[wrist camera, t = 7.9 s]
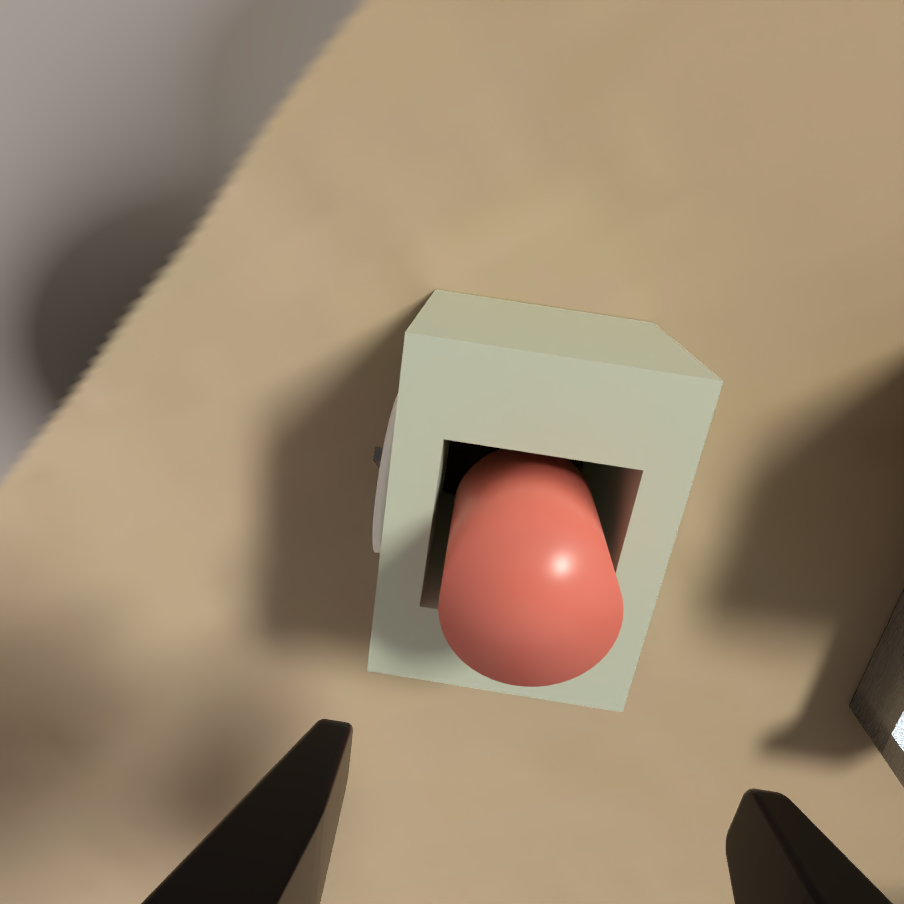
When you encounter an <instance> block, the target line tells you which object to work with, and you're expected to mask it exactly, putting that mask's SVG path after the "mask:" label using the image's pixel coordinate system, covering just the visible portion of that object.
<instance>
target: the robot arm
mask: <svg viewBox="0 0 904 904" xmlns="http://www.w3.org/2000/svg"><path fill="white" fill-rule="evenodd" d="M352 734H353V728H352V726H351V725H350V724H349V723H347V722H341V721H334V720H328V719H322V720H319V721H318V722H317V723H316V724H315V725H314V726H313V727H312V728H311V729H310V730H309V731H308V732H307V733H306V734H305V735H304V736H303V737H302V738H301V739H300V740H299V741H298V742H297V743H296V744H295V745H294V746H293V747H292V748H291V749H290V750H289V751H288V753H287V754H286V755H285V756H284V757H283V758H282V759H281V760H280V761H279V762H278V763H277V764H276V765H275V766H274V767H273V768H272V769H271V770H270V771H269V772H268V773H267V774H266V775H265V776H264V777H263V778H262V779H261V780H260V781H259V782H258V784H257V785H256V786H255V787H254V788H253V789H252V790H251V791H250V792H249V793H248V794H247V795H246V796H245V797H244V798H243V799H242V800H241V801H240V802H239V803H238V804H237V805H236V806H235V807H234V808H233V809H232V810H231V811H230V812H229V813H228V815H227V816H226V817H225V818H224V819H223V820H222V821H221V822H220V823H219V824H218V825H217V826H216V827H215V828H214V829H213V830H212V831H211V832H210V833H209V834H208V835H207V836H206V837H205V838H204V839H203V840H202V841H201V842H200V843H199V844H198V846H197V847H196V848H195V849H194V850H193V851H192V852H191V853H190V854H189V855H188V856H187V857H186V858H185V859H184V860H183V861H182V862H181V863H180V864H179V865H178V866H177V867H176V868H175V869H174V870H173V871H172V872H171V873H170V874H169V875H168V877H167V878H166V879H165V880H164V881H163V882H162V883H161V884H160V885H159V886H158V887H157V888H156V889H155V890H154V891H153V892H152V893H151V894H150V895H149V896H148V897H147V898H146V899H145V900H144V901H143V902H142V903H141V904H320V901H321V896H322V892H323V888H324V883H325V879H326V874H327V870H328V865H329V861H330V856H331V852H332V848H333V843H334V839H335V834H336V830H337V825H338V821H339V816H340V812H341V808H342V803H343V799H344V794H345V790H346V785H347V779H348V772H349V762H350V753H351V744H352ZM726 856H727V862H728V868H729V873H730V879H731V885H732V890H733V896H734V901H735V904H892V903H891V902H890V901H889V900H888V898H887V897H886V896H885V895H884V894H883V893H882V892H881V891H880V890H879V889H878V888H877V887H876V886H875V885H874V884H873V883H872V882H871V881H870V880H869V879H868V878H867V877H866V876H865V875H864V874H863V873H862V872H861V871H860V870H859V869H858V868H857V867H856V866H855V865H854V864H853V863H852V862H851V861H850V860H849V859H848V858H847V857H846V856H845V855H844V854H843V853H842V852H841V851H840V850H839V849H838V848H837V847H836V846H835V845H834V844H833V843H832V842H831V841H830V840H829V839H828V838H827V837H826V836H825V835H824V834H823V833H822V832H821V831H820V830H819V829H818V828H817V827H816V826H815V825H814V824H813V823H812V822H811V821H810V820H809V819H808V818H807V816H806V815H805V814H804V813H803V812H802V811H801V810H800V809H799V808H798V807H797V806H796V805H795V804H794V803H793V802H792V801H791V800H790V799H788V798H787V797H786V796H785V795H783V794H781V793H778V792H772V791H766V790H760V789H749V790H748V791H746V792H745V793H744V795H743V797H742V799H741V802H740V804H739V807H738V809H737V811H736V814H735V816H734V818H733V821H732V823H731V825H730V828H729V830H728V833H727V837H726Z"/></svg>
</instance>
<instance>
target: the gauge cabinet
mask: <svg viewBox="0 0 904 904" xmlns="http://www.w3.org/2000/svg"><path fill="white" fill-rule="evenodd" d="M722 384H723V380H721V379H720V378H719V377H718V376H717V375H716V374H714V373H713V372H712V371H711V370H710V369H708V368H707V367H706V366H705V365H704V364H702V363H701V362H700V361H699V360H698V359H697V358H695V357H694V356H693V355H692V354H691V353H689V352H688V351H687V350H686V349H685V348H683V347H682V346H681V345H680V344H679V343H678V342H676V341H675V340H674V339H673V338H672V337H670V336H669V335H668V334H667V333H666V332H665V331H663V330H662V329H661V328H660V327H659V326H657V325H656V324H655V323H653V322H647V321H640V320H633V319H627V318H620V317H614V316H607V315H601V314H594V313H588V312H581V311H574V310H568V309H561V308H555V307H548V306H542V305H535V304H529V303H522V302H515V301H509V300H502V299H496V298H489V297H483V296H476V295H470V294H463V293H456V292H450V291H443V290H437V289H435V291H434V292H433V294H432V295H431V296H430V298H429V299H428V301H427V302H426V303H425V305H424V306H423V308H422V309H421V311H420V312H419V313H418V315H417V316H416V318H415V319H414V320H413V322H412V323H411V325H410V326H409V327H408V329H407V330H406V332H405V337H404V346H403V355H402V364H401V373H400V382H399V391H398V394H397V396H396V399H395V402H394V405H393V408H392V411H391V415H390V419H389V423H388V427H387V432H386V436H385V441H384V446H383V448H380V447H376V448H375V454H374V459H373V460H374V462H375V463H376V464H377V465H378V466H379V467H380V468H379V475H378V481H377V488H376V496H375V505H374V515H373V528H372V546H373V551H374V552H376V553H380V559H379V568H378V577H377V586H376V595H375V604H374V613H373V622H372V630H371V639H370V648H369V657H368V666H367V671H370V672H377V673H383V674H389V675H395V676H401V677H407V678H414V679H420V680H426V681H432V682H438V683H444V684H451V685H457V686H463V687H469V688H475V689H481V690H488V691H494V692H500V693H506V694H512V695H518V696H525V697H531V698H537V699H543V700H549V701H556V702H562V703H568V704H574V705H580V706H586V707H593V708H599V709H605V710H611V711H617V712H623V709H624V706H625V702H626V699H627V696H628V692H629V689H630V686H631V683H632V679H633V676H634V673H635V670H636V666H637V663H638V660H639V656H640V653H641V650H642V647H643V643H644V640H645V637H646V633H647V630H648V627H649V624H650V620H651V617H652V614H653V611H654V607H655V604H656V601H657V597H658V594H659V591H660V588H661V584H662V581H663V578H664V574H665V571H666V568H667V565H668V561H669V558H670V555H671V551H672V548H673V545H674V542H675V538H676V535H677V532H678V529H679V525H680V522H681V519H682V515H683V512H684V509H685V506H686V502H687V499H688V496H689V492H690V489H691V486H692V483H693V479H694V476H695V473H696V470H697V466H698V463H699V460H700V456H701V453H702V450H703V447H704V443H705V440H706V437H707V433H708V430H709V427H710V424H711V420H712V417H713V414H714V411H715V407H716V404H717V401H718V397H719V394H720V391H721V388H722ZM450 440H452V441H458V442H465V443H471V444H477V445H484V446H490V447H497V448H503V449H509V450H516V451H522V452H529V453H535V454H541V455H548V456H554V457H561V458H567V459H573V460H580V461H584V463H583V467H582V471H581V473H582V474H583V476H584V477H585V479H586V480H587V483H588V485H589V487H590V490H591V493H592V496H593V500H594V503H595V506H596V510H597V513H598V517H599V520H600V523H601V527H602V530H603V533H604V537H605V540H606V543H607V547H608V550H609V553H610V557H611V560H612V563H613V567H614V570H615V574H616V577H617V580H618V584H619V587H620V590H621V594H622V598H623V607H624V609H623V621H622V626H621V629H620V632H619V635H618V638H617V639H616V641H615V643H614V645H613V647H612V648H611V649H610V651H609V652H608V653H607V655H606V656H605V657H604V658H603V659H602V660H601V661H600V662H599V663H598V664H596V665H595V666H594V667H592V668H591V669H590V670H588V671H587V672H585V673H583V674H582V675H580V676H577V677H575V678H573V679H571V680H568V681H565V682H562V683H558V684H554V685H549V686H539V687H523V686H514V685H509V684H505V683H501V682H498V681H495V680H492V679H490V678H488V677H485V676H483V675H481V674H480V673H478V672H476V671H475V670H473V669H472V668H470V667H469V666H468V665H466V664H465V663H464V662H463V661H462V660H461V659H460V658H459V657H458V656H457V655H456V654H455V653H454V651H453V650H452V649H451V647H450V646H449V644H448V642H447V641H446V639H445V637H444V634H443V632H442V629H441V625H440V621H439V613H438V605H439V595H440V589H441V583H442V576H443V570H444V564H445V557H446V551H447V545H448V538H449V532H450V526H451V519H452V513H453V506H454V500H455V496H456V494H452V493H446V492H443V486H444V479H445V473H446V466H447V459H448V452H449V446H450Z"/></svg>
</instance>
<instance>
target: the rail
mask: <svg viewBox="0 0 904 904" xmlns="http://www.w3.org/2000/svg"><path fill="white" fill-rule="evenodd" d="M849 707H850V709H851V710H852V712H853V713H854V715H855V716H856V718H857V719H858V721H859V722H860V724H861V725H862V726H863V728H864V729H865V731H866V732H867V734H868V735H869V737H870V738H871V740H872V741H873V743H874V744H875V746H876V747H877V749H878V750H879V752H880V753H881V755H882V756H883V758H884V759H885V760H886V762H887V763H888V765H889V766H890V768H891V769H892V771H893V772H894V774H895V775H896V777H897V778H898V780H899V781H900V783H901V784H902V786H903V787H904V591H903V593H902V595H901V597H900V600H899V602H898V604H897V606H896V608H895V610H894V612H893V614H892V617H891V619H890V621H889V623H888V625H887V627H886V629H885V631H884V634H883V636H882V638H881V640H880V642H879V644H878V646H877V648H876V651H875V653H874V655H873V657H872V659H871V661H870V663H869V665H868V668H867V670H866V672H865V674H864V676H863V678H862V680H861V682H860V685H859V687H858V689H857V691H856V693H855V695H854V697H853V699H852V702H851V704H850V706H849Z"/></svg>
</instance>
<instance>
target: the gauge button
mask: <svg viewBox="0 0 904 904" xmlns="http://www.w3.org/2000/svg"><path fill="white" fill-rule="evenodd" d="M623 609H624V607H623V598H622V594H621V590H620V587H619V584H618V580H617V577H616V574H615V570H614V567H613V563H612V560H611V557H610V553H609V550H608V547H607V543H606V540H605V537H604V533H603V530H602V527H601V523H600V520H599V517H598V513H597V510H596V506H595V503H594V500H593V496H592V493H591V490H590V487H589V485H588V483H587V480H586V479H585V477H584V476H583V474H582V473H581V472H580V470H579V469H578V468H577V467H576V466H575V465H574V464H573V463H572V462H571V461H569V460H568V459H566V458H561V457H554V456H548V455H541V454H535V453H529V452H522V451H516V450H509V449H499V450H497V451H494V452H492V453H490V454H488V455H486V456H484V457H483V458H481V459H480V460H479V461H477V462H476V463H475V464H474V465H473V466H472V467H471V468H470V469H469V470H468V471H467V473H466V474H465V475H464V477H463V478H462V480H461V482H460V484H459V486H458V489H457V491H456V496H455V500H454V506H453V513H452V519H451V526H450V532H449V538H448V545H447V551H446V557H445V564H444V570H443V576H442V583H441V589H440V595H439V605H438V613H439V621H440V625H441V629H442V632H443V634H444V637H445V639H446V641H447V642H448V644H449V646H450V647H451V649H452V650H453V651H454V653H455V654H456V655H457V656H458V657H459V658H460V659H461V660H462V661H463V662H464V663H465V664H466V665H468V666H469V667H470V668H472V669H473V670H475V671H476V672H478V673H480V674H481V675H483V676H485V677H488V678H490V679H492V680H495V681H498V682H501V683H505V684H509V685H514V686H523V687H539V686H549V685H554V684H558V683H562V682H565V681H568V680H571V679H573V678H575V677H577V676H580V675H582V674H583V673H585V672H587V671H588V670H590V669H591V668H592V667H594V666H595V665H596V664H598V663H599V662H600V661H601V660H602V659H603V658H604V657H605V656H606V655H607V653H608V652H609V651H610V649H611V648H612V647H613V645H614V643H615V641H616V639H617V638H618V635H619V632H620V629H621V626H622V621H623Z"/></svg>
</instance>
